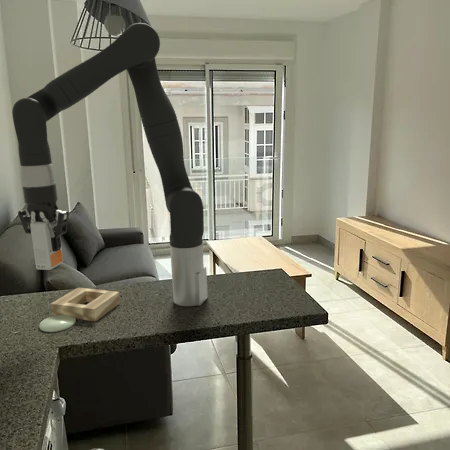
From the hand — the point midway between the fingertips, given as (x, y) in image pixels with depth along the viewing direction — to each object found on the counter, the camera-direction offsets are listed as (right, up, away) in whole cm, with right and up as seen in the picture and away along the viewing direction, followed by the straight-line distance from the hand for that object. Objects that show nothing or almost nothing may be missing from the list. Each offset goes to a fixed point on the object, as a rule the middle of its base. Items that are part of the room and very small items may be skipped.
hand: (48, 249), depth 111 cm
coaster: (+1, -20, +5) cm, 21 cm away
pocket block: (+6, -18, +13) cm, 23 cm away
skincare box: (0, -4, +1) cm, 5 cm away
